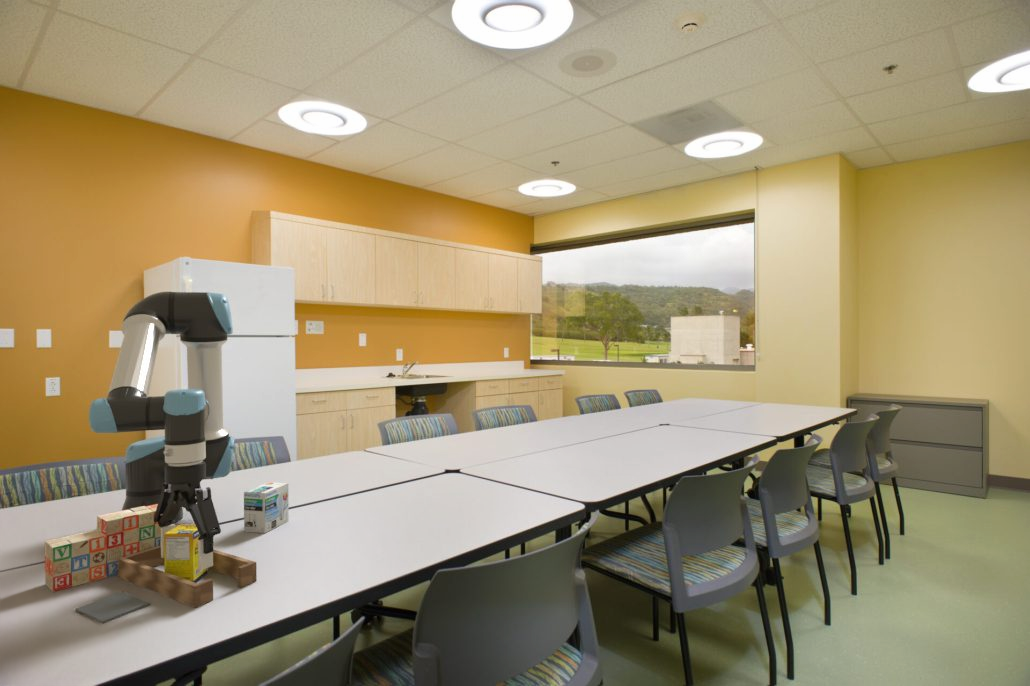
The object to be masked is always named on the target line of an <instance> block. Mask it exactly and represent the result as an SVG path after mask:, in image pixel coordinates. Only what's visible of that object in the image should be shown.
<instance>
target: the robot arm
mask: <svg viewBox="0 0 1030 686" xmlns="http://www.w3.org/2000/svg"><path fill="white" fill-rule="evenodd" d="M231 313H232V312H231V308H230V304H229V299H228V297H227V296H226V295H225V294H223V293H217V292H216V293H215V292H209V291H208V292H207V291H206V292H202V291H201V292H200V291H199V292H197V291H195V292H193V291H192V292H191V291H190V292H189V291H188V292H187V291H186V292H185V291H183V292H182V291H160V292H156V293H152V294H150V295H148V296H146V297H144V298H142V299H141V300H139V301H138V302H137V303H135V304H134V305H133V306H132V307H131V308H129V310H128V311H127V312H126V314H125V316H124V318H123V321H122V323H121V333H122V335H123V339H122V341H121V342H122V343H121V346H120V349H119V353H118V357H117V361H116V363H115V368H114V371H113V375H112V378H111V382H110V385H109V388H108V392H107V395H106V396H107V397H102V398H96V399H94V400H93V401H92V402H91V404H90V406H89V411H88V421H89V426H90V429H91V431H92V432H94V433H96V434H118V433H129V432H131V433H132V432H144V431H160V430H162V431H164V435H161V436H156V437H151V438H147V439H143V440H139V441H136V442H132V443H130V445H128V446H127V447H126V450H125V460H124V464H125V500H124V502H123V505H122V508H121V510H120V511H123V510H129V509H131V508H136V507H141V506H150V505H155V504H158V505H157V509H156V512H155V516H154V522H158V525H159V527H161V558H164V534H165V533H166V532H168V531H170V530H172V529H173V528H175V527H176V524H175V523H178V522H179V521H181V520H182V519H183V518H184V509H185V511H186V512H188V513H189V514H190V515H191V518H192V520H193V523H194V524H195V525H196V527H197V529H198V532H199V534H200V536H199V538H198V570H200V571H201V570H204V569H206V568H209V567H211V566H213V549H214V537H215V536H216V535H219V534H221V532H222V529H221V526H220V523H219V520H218V516H217V513H216V510H215V509H216V508H215V506H214V503H213V499H212V490H211V487H210V486H209V487H204V488H202V487H201V482H202V481H203V480H214V479H218V478H225V477H227V476H228V475H229V474H230V473H231V469H232V468H231V467H232V461H233V452H234V444H235V439H236V438H235V437H234V436H232V435H230V431H229V429H228V428H226V427H225V426H224V408H223V407H224V406H223V369H222V368H223V364H222V363H223V354H222V353H223V352H222V351H223V350H222V348H223V346H224V344H226V342H228V336H230V335H232V334H233V332H234V329H233V327H234V326H233V320H232V314H231ZM165 335H179V338H180V342H181V343H182V344H184V345H185V347H186V362H187V364H186V365H187V368H186V369H187V388H184V389H183V388H182V389H174V390H168V391H167V392H165V393H164V395H162V396H161V395H160V396H159V395H158V396H149V394H150V393H149V392H150V388H151V382H152V379H153V373H154V368H155V363H156V359H157V354H158V353H157V352H158V348H159V344H160V341H162V340H163V339H164V337H165ZM161 514H163V515H161Z"/></svg>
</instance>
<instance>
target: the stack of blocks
mask: <svg viewBox="0 0 1030 686" xmlns="http://www.w3.org/2000/svg"><path fill="white" fill-rule="evenodd" d="M157 505H158V504H155V505H150V506H141V507H136V508H131V509H129V510H123V511H121V510H119V511H115V512H110V513H105V514H100V515H97V516H96V529H94V530H90V531H85V532H80V533H75V534H71V535H66V536H63V537H62V536H61V537H56V538H54V539H52V538H51V539H48V540H45V541H44V549H45V550H44V573H45V576H44V577H45V585H46V586H47V588H48V589H49V590H50V591H51V592H53V593H54V592H57V591H60V590H65V589H67V588H71V587H76V586H79V585H80V586H81V585H82V584H83V585H84V584H87V583H89V582H94V581H98V580H102V579H104V578H105V579H106V578H108V577H111V576H112V577H113V576H115V575H118V559H119V558H122V557H126V556H129V555H132V554H135V553H138V552H141V551H144V550H148V549H151V548H154V547H157V546H160V545H161V527H159V525H158V522H154V516H155V512H156V509H157ZM161 515H163V514H161Z"/></svg>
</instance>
